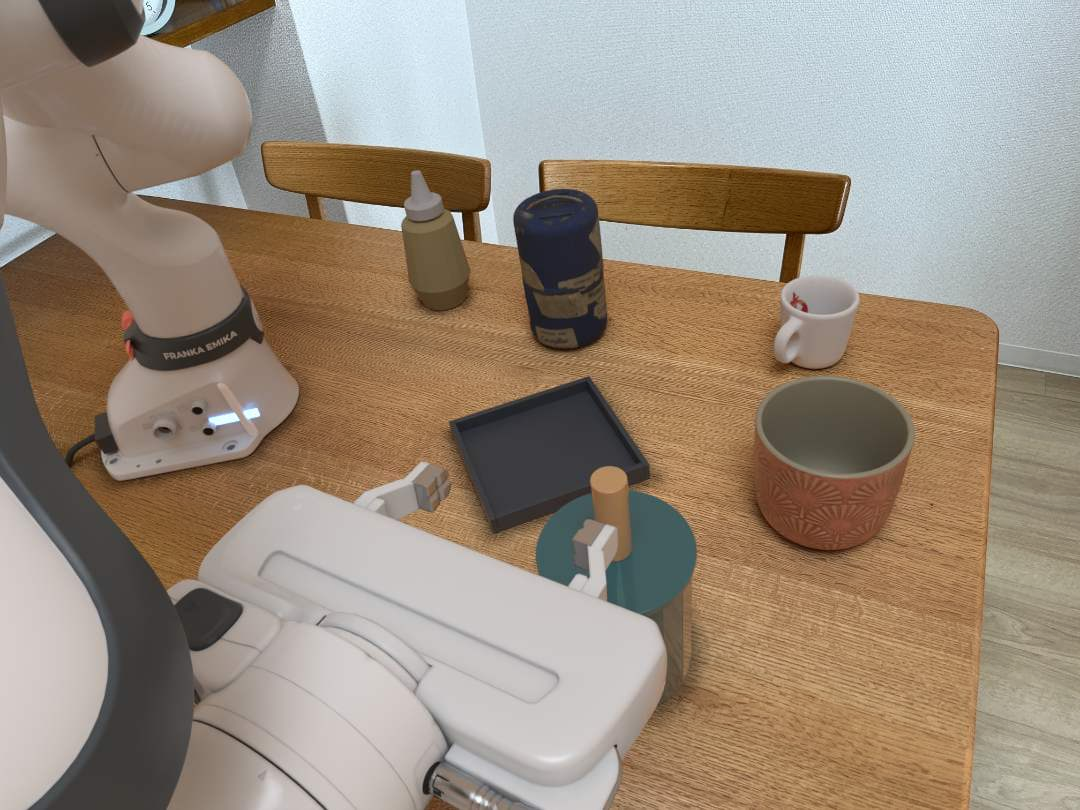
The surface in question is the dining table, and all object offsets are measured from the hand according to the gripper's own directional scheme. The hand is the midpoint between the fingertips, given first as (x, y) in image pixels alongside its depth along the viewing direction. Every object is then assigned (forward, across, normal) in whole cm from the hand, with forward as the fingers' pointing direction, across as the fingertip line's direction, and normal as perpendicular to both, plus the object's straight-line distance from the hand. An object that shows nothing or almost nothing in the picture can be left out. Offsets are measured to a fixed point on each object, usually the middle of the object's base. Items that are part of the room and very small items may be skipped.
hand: (517, 501), depth 39 cm
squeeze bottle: (+51, +44, +26) cm, 72 cm away
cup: (+54, -3, +25) cm, 59 cm away
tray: (+30, +17, +27) cm, 43 cm away
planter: (+33, -10, +26) cm, 43 cm away
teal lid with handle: (+12, 0, +15) cm, 19 cm away
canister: (+50, +25, +25) cm, 61 cm away
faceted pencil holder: (+12, 0, +28) cm, 31 cm away
